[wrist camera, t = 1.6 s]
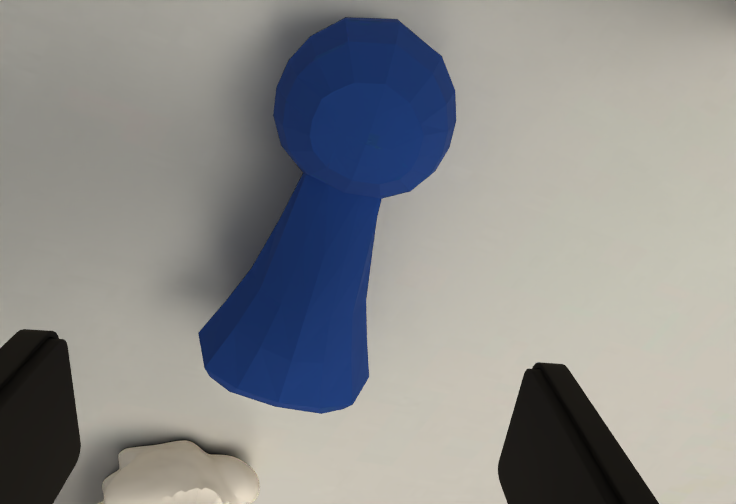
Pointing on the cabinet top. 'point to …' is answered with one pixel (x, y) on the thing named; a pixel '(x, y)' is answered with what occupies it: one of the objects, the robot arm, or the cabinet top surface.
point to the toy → (331, 212)
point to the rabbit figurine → (179, 477)
